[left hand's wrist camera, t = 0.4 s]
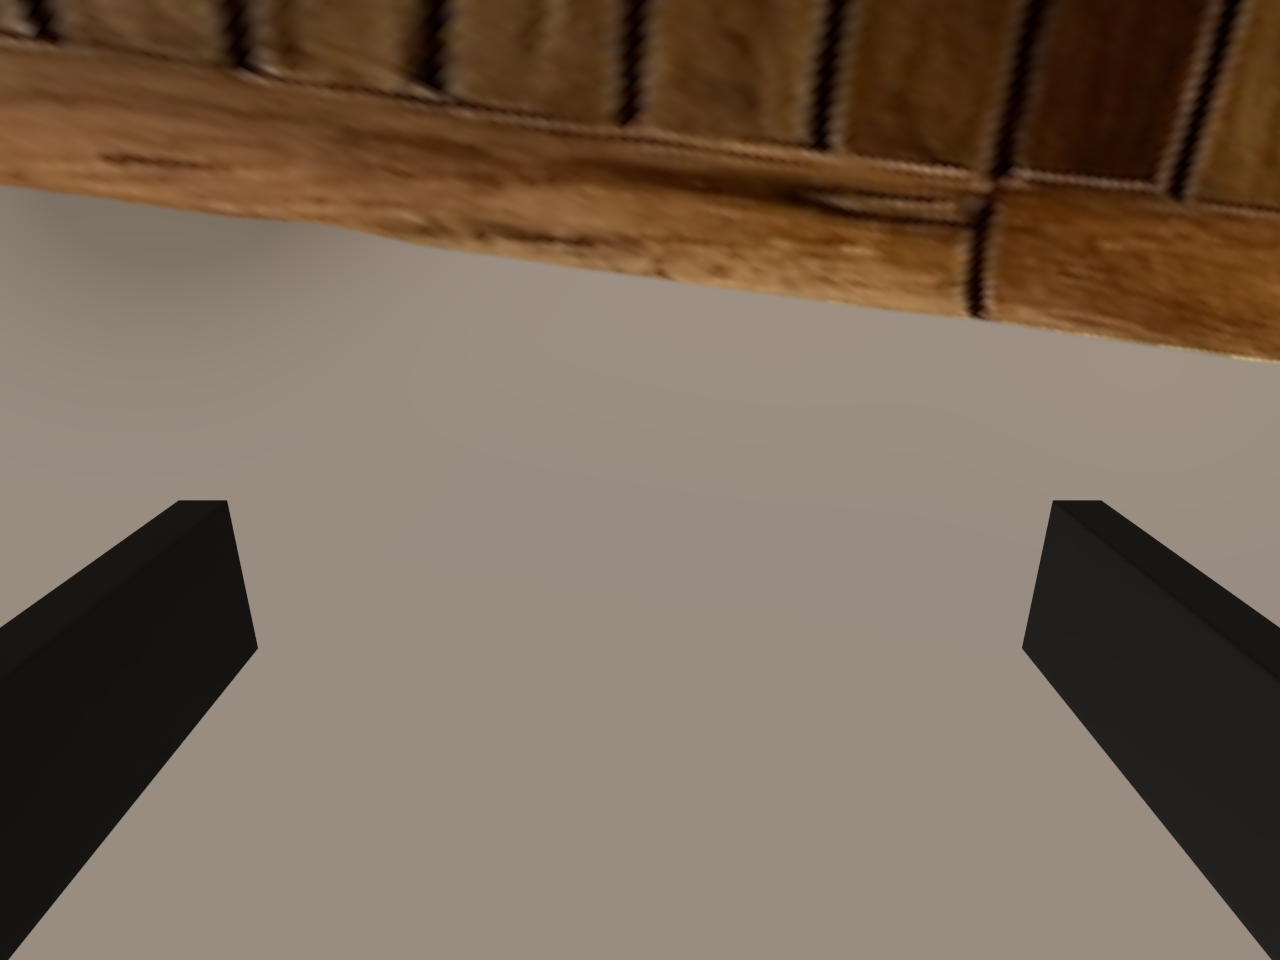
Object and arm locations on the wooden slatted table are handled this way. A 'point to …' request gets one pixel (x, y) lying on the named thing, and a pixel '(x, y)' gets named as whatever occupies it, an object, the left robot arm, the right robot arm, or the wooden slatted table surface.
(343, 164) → the wooden slatted table surface
